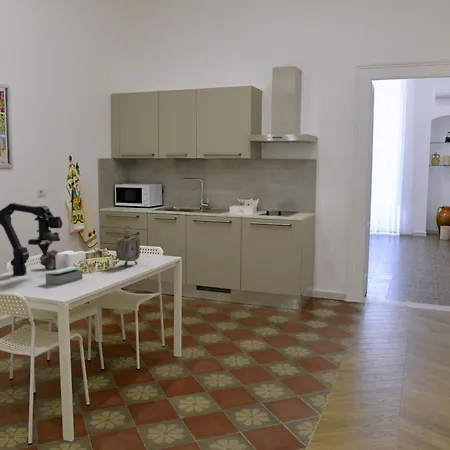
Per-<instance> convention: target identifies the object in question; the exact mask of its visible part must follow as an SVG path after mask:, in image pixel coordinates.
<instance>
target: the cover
mask: <svg viewBox="0 0 450 450" xmlns="http://www.w3.org/2000/svg"><path fill="white" fill-rule="evenodd" d="M80 268H82V267H67V268H63V269H59V270H56V269H54V270H51V271H46V272H45V275H46V274H59V273H63V272H67V271H72V270H76V269H80Z"/></svg>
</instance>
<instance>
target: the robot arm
mask: <svg viewBox="0 0 450 450" xmlns="http://www.w3.org/2000/svg"><path fill="white" fill-rule="evenodd" d="M15 211H16V212H22V213H29V214H32V215H34V216H36V217H35V218H34V221H38V222H37V224H38V229H37V230H36V232H37V233H38V236H37V237H36V238H31V239H28V240H27V244H28V245H29V246H30V245H31V246H38V248H39V249H40V251H41V253H42V255H43V254H44V255H46V254H47V252H48V251H49V247H50V245H51V244H53V242H60V241H61V238H60V235H59V234H60V233H59V232H58V231H57V232H52V229H62V228H63V220H62V218H61V216H59V215H58V216H54V214H53V213H52V211H51V210H50V207H49V206H47V205H40V206H39V205H35V206H33V205H27V204H21V203H16V202H11V203H9V204H8V205H6V206H5V207H3V208H1V209H0V225H1V227H2V229H3V231H4V232H5V234H6V237H7V239H8V241H9V243H10V245H11V247H12V255H13V258H12V259H11V260H10V265H11V266H12V274H11V275H12V276H25V275H26V274H27V266H26V264H27V261H28V260H29V258H30V252H29V250H28V248H27V247H25V246H22V244H21V242H20V239H19V237H18V235H17V232H16V231H15V228H14V227H13V224H12V217H11V215H13V213H15Z"/></svg>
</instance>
